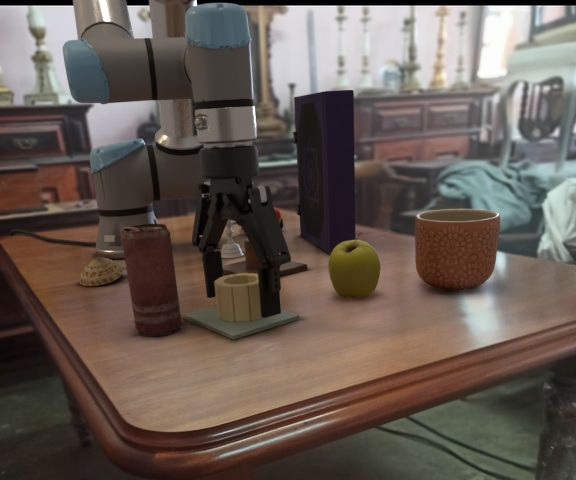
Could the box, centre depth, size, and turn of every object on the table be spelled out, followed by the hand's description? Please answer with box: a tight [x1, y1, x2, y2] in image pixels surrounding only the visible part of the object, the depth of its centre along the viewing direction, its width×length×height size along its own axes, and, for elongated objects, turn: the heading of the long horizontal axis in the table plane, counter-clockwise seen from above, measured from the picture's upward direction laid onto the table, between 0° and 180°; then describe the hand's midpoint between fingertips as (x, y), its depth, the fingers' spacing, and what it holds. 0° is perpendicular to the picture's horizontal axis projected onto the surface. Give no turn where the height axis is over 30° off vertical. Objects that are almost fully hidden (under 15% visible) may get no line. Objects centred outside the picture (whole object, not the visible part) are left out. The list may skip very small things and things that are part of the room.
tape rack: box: [222, 212, 308, 278], centre depth 105 cm, size 12×12×14 cm
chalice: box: [220, 219, 245, 259], centre depth 119 cm, size 7×7×18 cm
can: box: [121, 223, 182, 337], centre depth 78 cm, size 6×6×14 cm
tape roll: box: [214, 273, 263, 322], centre depth 82 cm, size 7×7×5 cm
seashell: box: [78, 256, 127, 287], centre depth 108 cm, size 8×6×8 cm
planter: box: [414, 208, 501, 292], centre depth 90 cm, size 12×12×11 cm
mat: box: [182, 304, 300, 341], centre depth 83 cm, size 13×11×1 cm
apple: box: [327, 232, 381, 299], centre depth 88 cm, size 8×8×10 cm
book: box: [292, 89, 357, 256], centre depth 123 cm, size 24×6×30 cm, turn 14°
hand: (242, 305), depth 82 cm, fingers open, 13 cm apart
